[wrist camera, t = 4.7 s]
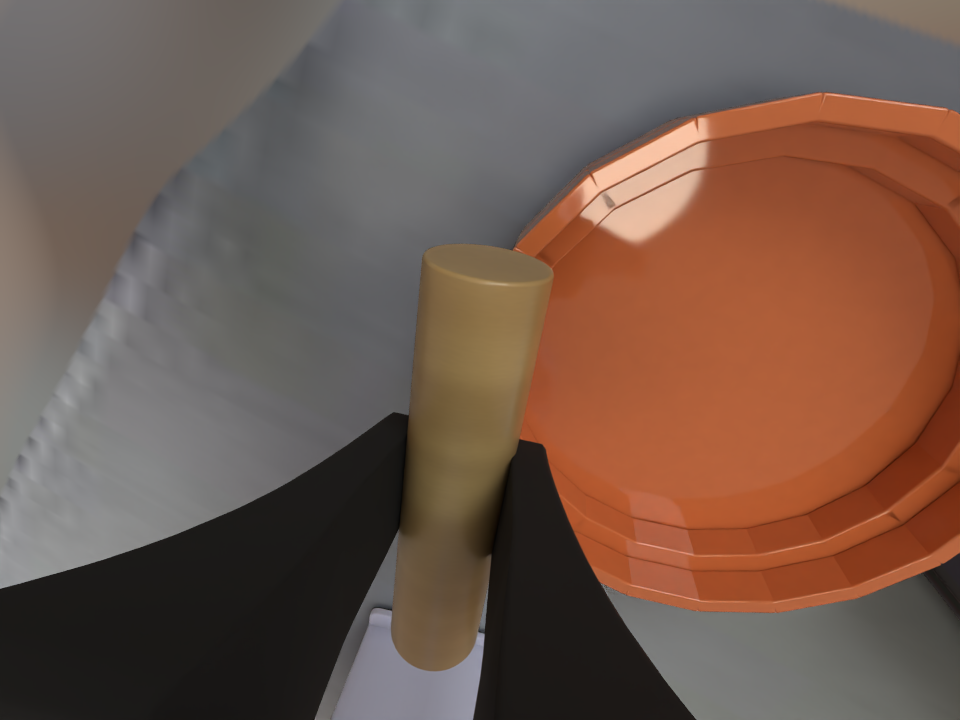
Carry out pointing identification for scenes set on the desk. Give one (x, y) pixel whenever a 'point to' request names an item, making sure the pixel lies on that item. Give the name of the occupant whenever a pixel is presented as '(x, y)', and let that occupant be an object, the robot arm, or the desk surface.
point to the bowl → (757, 353)
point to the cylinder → (462, 439)
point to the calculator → (947, 582)
